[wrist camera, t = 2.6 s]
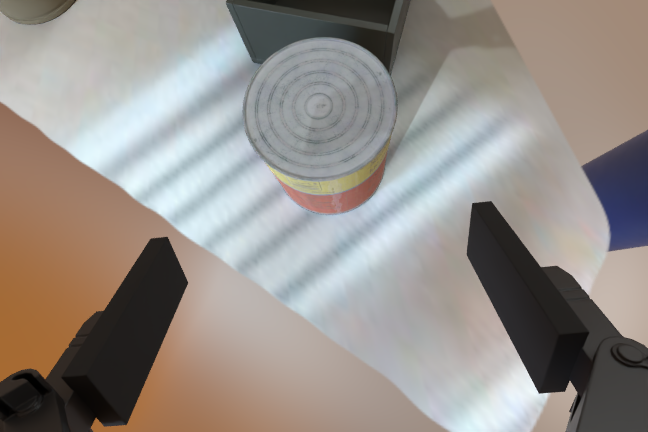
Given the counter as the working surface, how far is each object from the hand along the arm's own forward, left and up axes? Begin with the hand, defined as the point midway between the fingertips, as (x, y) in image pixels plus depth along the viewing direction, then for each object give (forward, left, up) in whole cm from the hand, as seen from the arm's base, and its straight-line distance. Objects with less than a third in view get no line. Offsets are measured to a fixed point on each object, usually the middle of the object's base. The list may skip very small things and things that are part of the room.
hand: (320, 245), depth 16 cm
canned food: (+4, -10, -21) cm, 23 cm away
